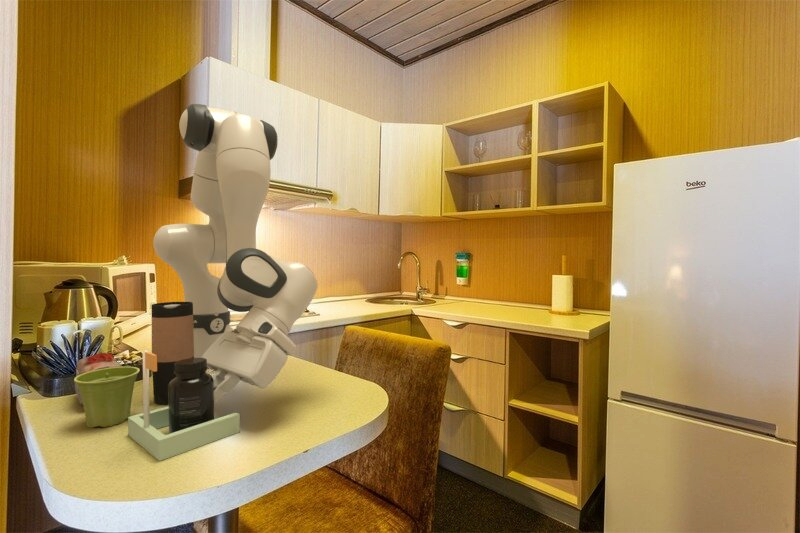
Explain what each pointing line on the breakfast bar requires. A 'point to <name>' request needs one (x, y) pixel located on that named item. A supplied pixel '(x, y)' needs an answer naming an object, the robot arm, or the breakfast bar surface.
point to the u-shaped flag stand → (149, 421)
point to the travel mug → (170, 343)
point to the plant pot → (107, 394)
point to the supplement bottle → (190, 395)
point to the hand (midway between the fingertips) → (211, 397)
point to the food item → (94, 367)
